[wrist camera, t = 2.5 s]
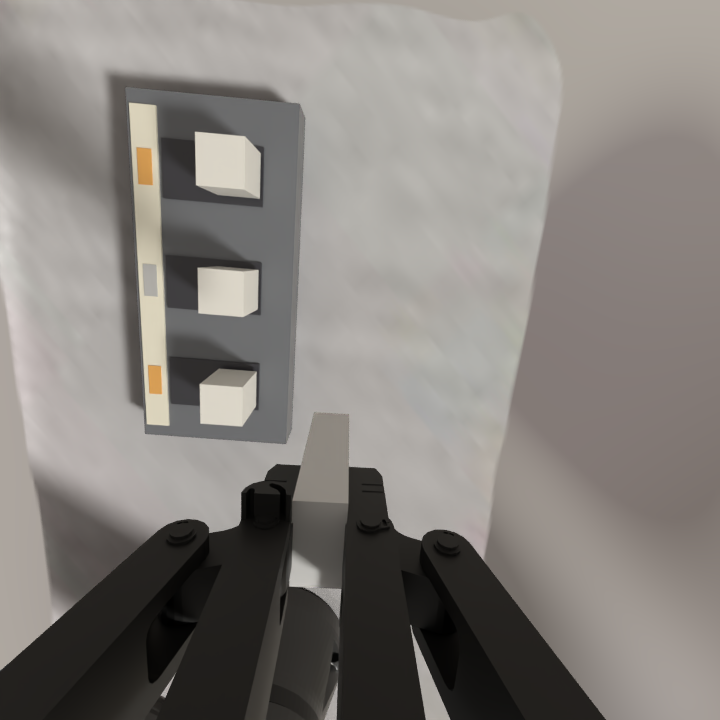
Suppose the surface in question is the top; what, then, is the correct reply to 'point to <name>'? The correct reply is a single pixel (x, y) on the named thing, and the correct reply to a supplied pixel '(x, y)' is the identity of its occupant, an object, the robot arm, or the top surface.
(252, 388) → the tab
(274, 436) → the switch bank
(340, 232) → the top surface
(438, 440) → the top surface
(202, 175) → the tab
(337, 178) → the top surface
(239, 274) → the tab
